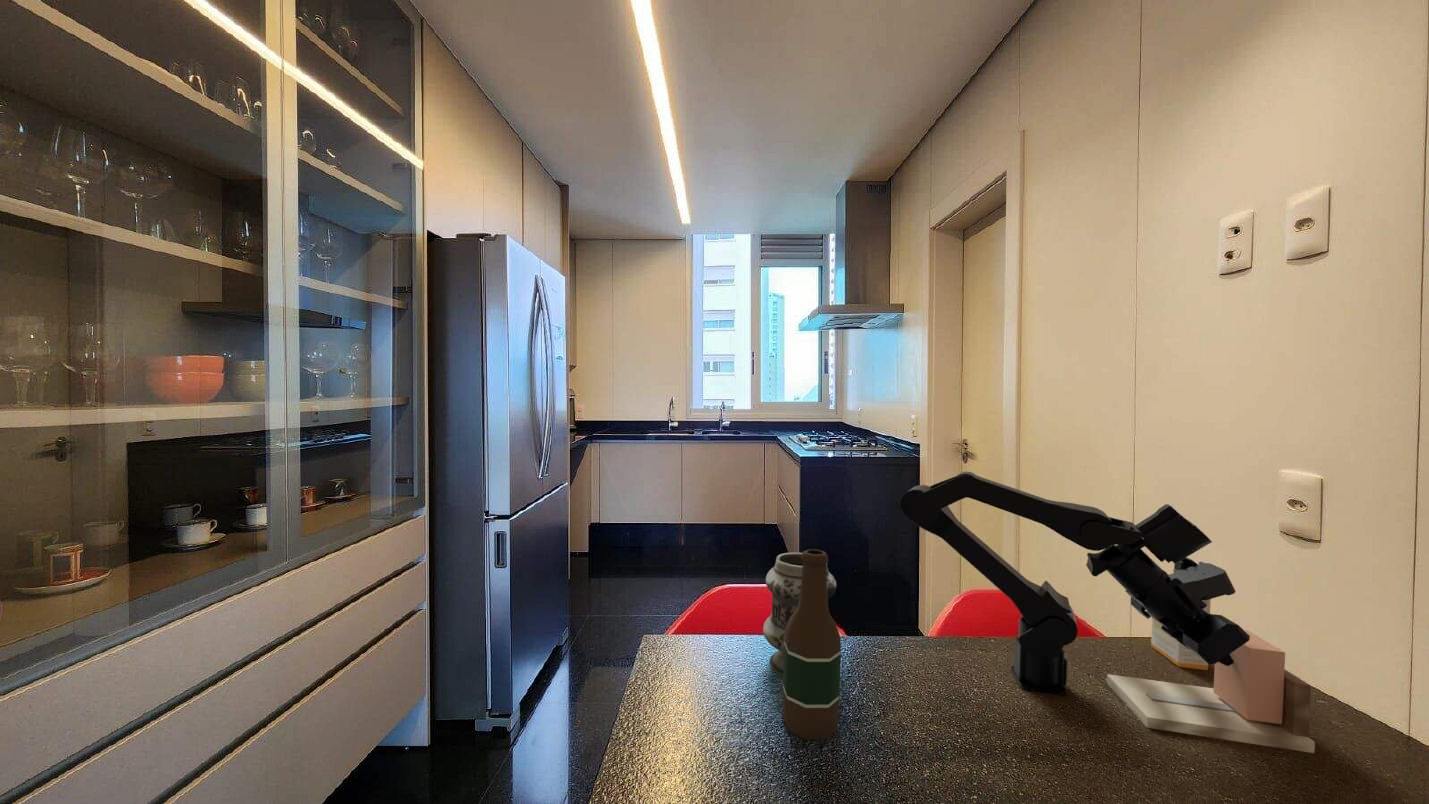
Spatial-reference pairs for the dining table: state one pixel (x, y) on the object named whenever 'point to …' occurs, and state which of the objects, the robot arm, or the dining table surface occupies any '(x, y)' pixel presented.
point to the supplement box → (1176, 646)
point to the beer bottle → (812, 657)
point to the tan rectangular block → (1253, 680)
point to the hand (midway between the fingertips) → (1229, 663)
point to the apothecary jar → (786, 601)
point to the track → (1216, 712)
